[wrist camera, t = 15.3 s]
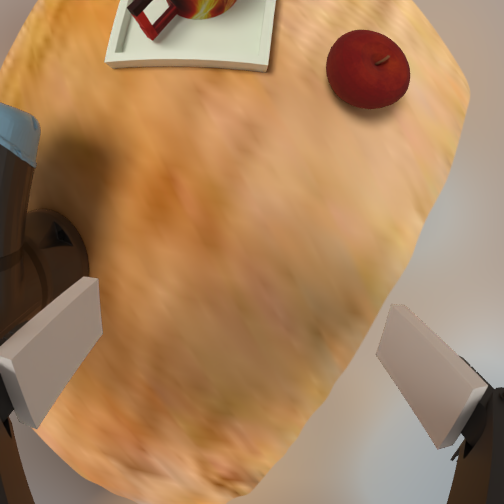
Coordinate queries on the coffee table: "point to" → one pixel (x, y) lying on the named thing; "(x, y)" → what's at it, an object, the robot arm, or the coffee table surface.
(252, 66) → the tray
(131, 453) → the coffee table surface
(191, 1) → the mug
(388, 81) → the apple
